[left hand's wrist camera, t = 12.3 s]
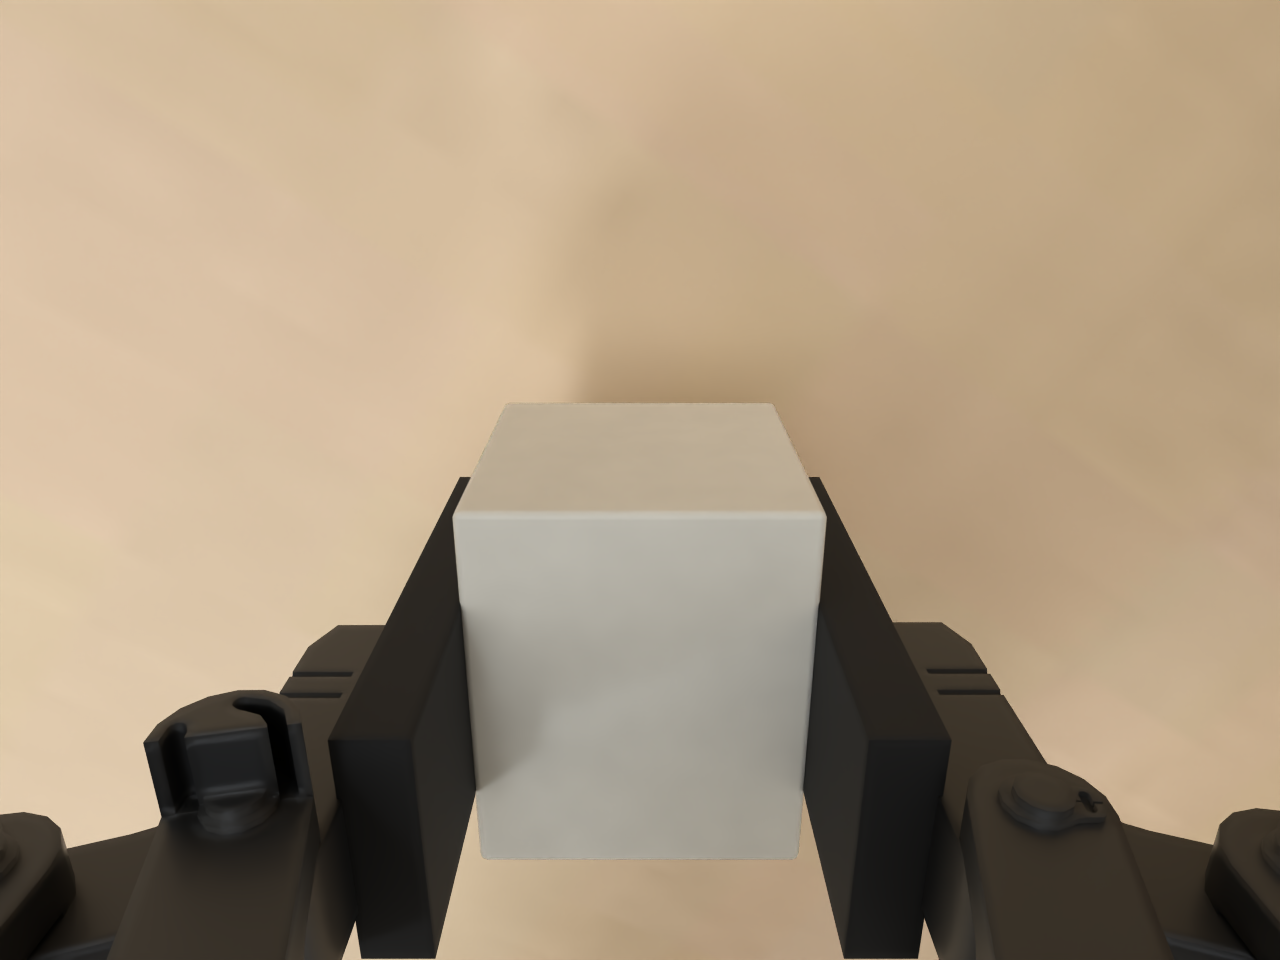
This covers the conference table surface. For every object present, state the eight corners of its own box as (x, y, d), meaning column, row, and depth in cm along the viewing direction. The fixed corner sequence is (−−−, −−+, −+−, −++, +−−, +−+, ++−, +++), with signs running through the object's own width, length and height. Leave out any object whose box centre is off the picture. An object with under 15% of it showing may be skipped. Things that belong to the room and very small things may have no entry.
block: (758, 675, 16) (799, 862, 12) (520, 675, 16) (480, 862, 12) (775, 400, 14) (829, 512, 10) (504, 401, 14) (450, 512, 10)
